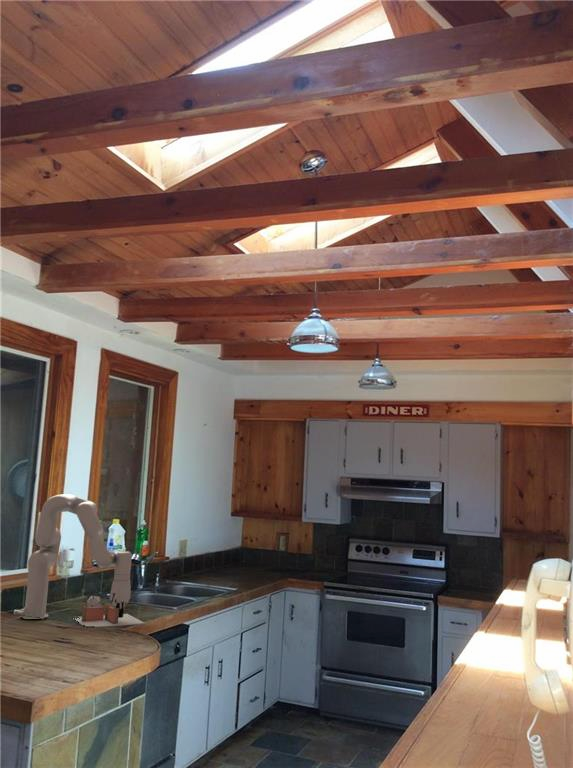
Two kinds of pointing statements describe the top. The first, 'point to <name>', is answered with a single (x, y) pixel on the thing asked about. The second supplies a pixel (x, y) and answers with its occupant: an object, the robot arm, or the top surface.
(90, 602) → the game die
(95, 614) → the fence fixed
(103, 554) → the robot arm
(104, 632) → the top surface
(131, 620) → the card
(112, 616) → the fence panel
